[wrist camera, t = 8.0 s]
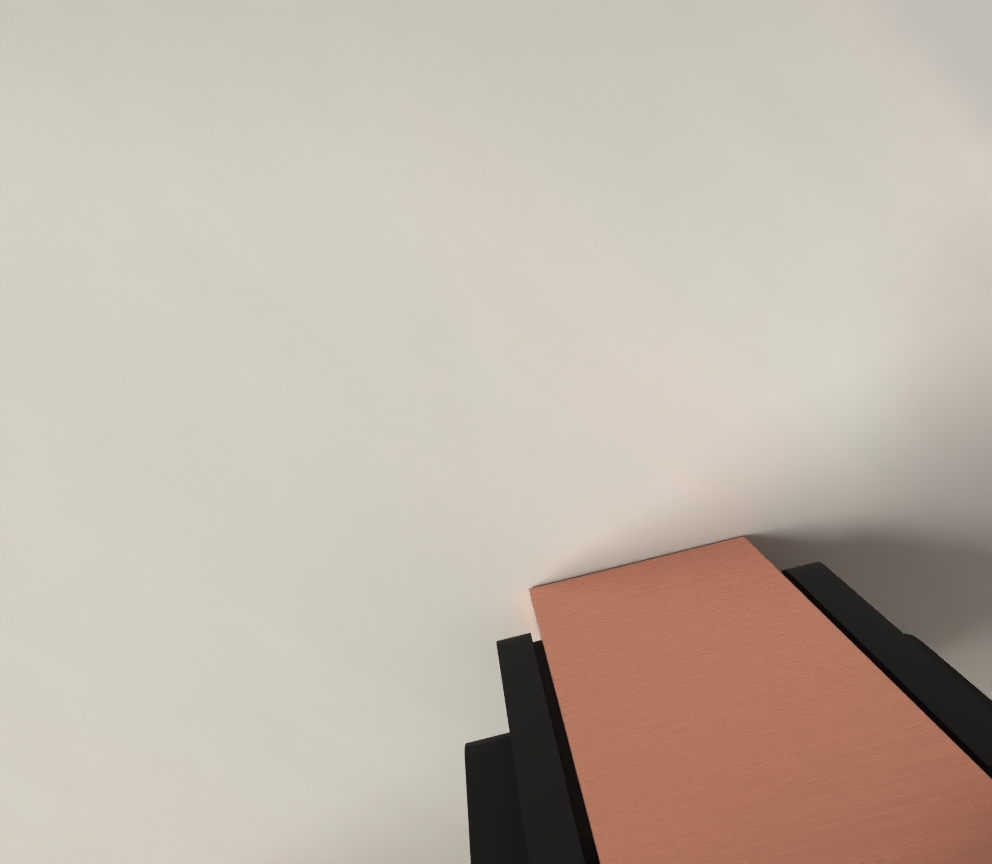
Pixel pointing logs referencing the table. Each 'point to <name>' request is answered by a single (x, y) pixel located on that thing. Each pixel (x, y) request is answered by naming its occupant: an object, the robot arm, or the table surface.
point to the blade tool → (745, 724)
